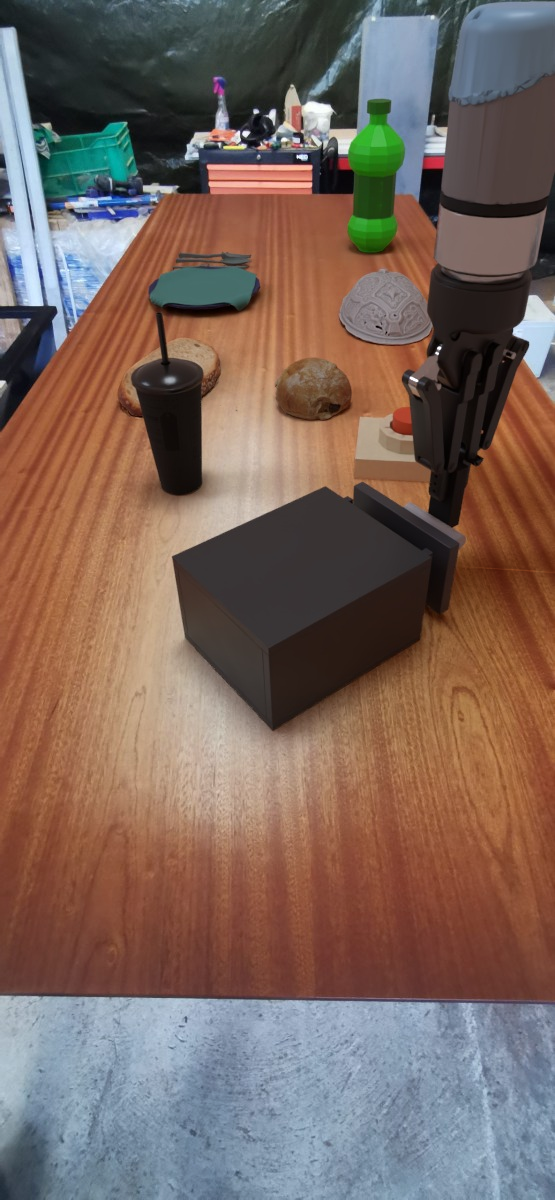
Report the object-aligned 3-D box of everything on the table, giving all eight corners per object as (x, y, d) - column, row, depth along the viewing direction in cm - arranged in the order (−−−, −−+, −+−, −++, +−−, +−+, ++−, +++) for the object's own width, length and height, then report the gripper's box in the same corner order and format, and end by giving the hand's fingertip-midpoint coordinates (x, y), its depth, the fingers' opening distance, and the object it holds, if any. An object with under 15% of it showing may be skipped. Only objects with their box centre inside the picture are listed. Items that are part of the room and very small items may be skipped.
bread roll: (297, 448, 99) (313, 408, 92) (255, 393, 101) (268, 350, 95) (353, 425, 103) (372, 385, 96) (312, 372, 106) (328, 330, 99)
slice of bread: (202, 346, 116) (199, 322, 113) (253, 391, 104) (252, 365, 101) (91, 372, 110) (86, 348, 107) (133, 423, 98) (128, 397, 95)
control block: (454, 440, 92) (459, 407, 89) (458, 484, 85) (463, 450, 82) (358, 435, 94) (360, 403, 91) (353, 478, 86) (355, 445, 83)
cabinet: (324, 565, 75) (325, 485, 68) (420, 640, 67) (432, 557, 60) (184, 637, 68) (171, 556, 61) (272, 731, 59) (268, 648, 53)
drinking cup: (227, 482, 87) (213, 312, 73) (176, 510, 83) (151, 335, 69) (186, 459, 91) (165, 293, 77) (136, 484, 87) (105, 314, 73)
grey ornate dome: (341, 341, 114) (347, 296, 109) (335, 292, 133) (340, 252, 129) (441, 350, 114) (450, 306, 110) (420, 299, 133) (428, 260, 129)
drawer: (390, 529, 77) (396, 465, 72) (480, 590, 70) (494, 523, 65) (234, 609, 69) (228, 543, 64) (318, 688, 61) (319, 621, 56)
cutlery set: (138, 318, 125) (136, 304, 123) (170, 260, 147) (169, 247, 146) (255, 318, 123) (254, 304, 122) (269, 259, 146) (269, 246, 144)
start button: (426, 420, 88) (427, 407, 87) (426, 437, 85) (428, 423, 84) (392, 419, 88) (393, 405, 87) (391, 435, 85) (392, 422, 84)
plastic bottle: (344, 241, 153) (349, 96, 136) (395, 240, 152) (406, 95, 136) (345, 257, 145) (350, 106, 129) (399, 256, 145) (411, 104, 128)
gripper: (501, 237, 61) (460, 481, 76) (384, 272, 55) (366, 527, 71) (578, 259, 56) (518, 514, 72) (459, 300, 50) (422, 566, 66)
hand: (442, 520), depth 71 cm, fingers closed
